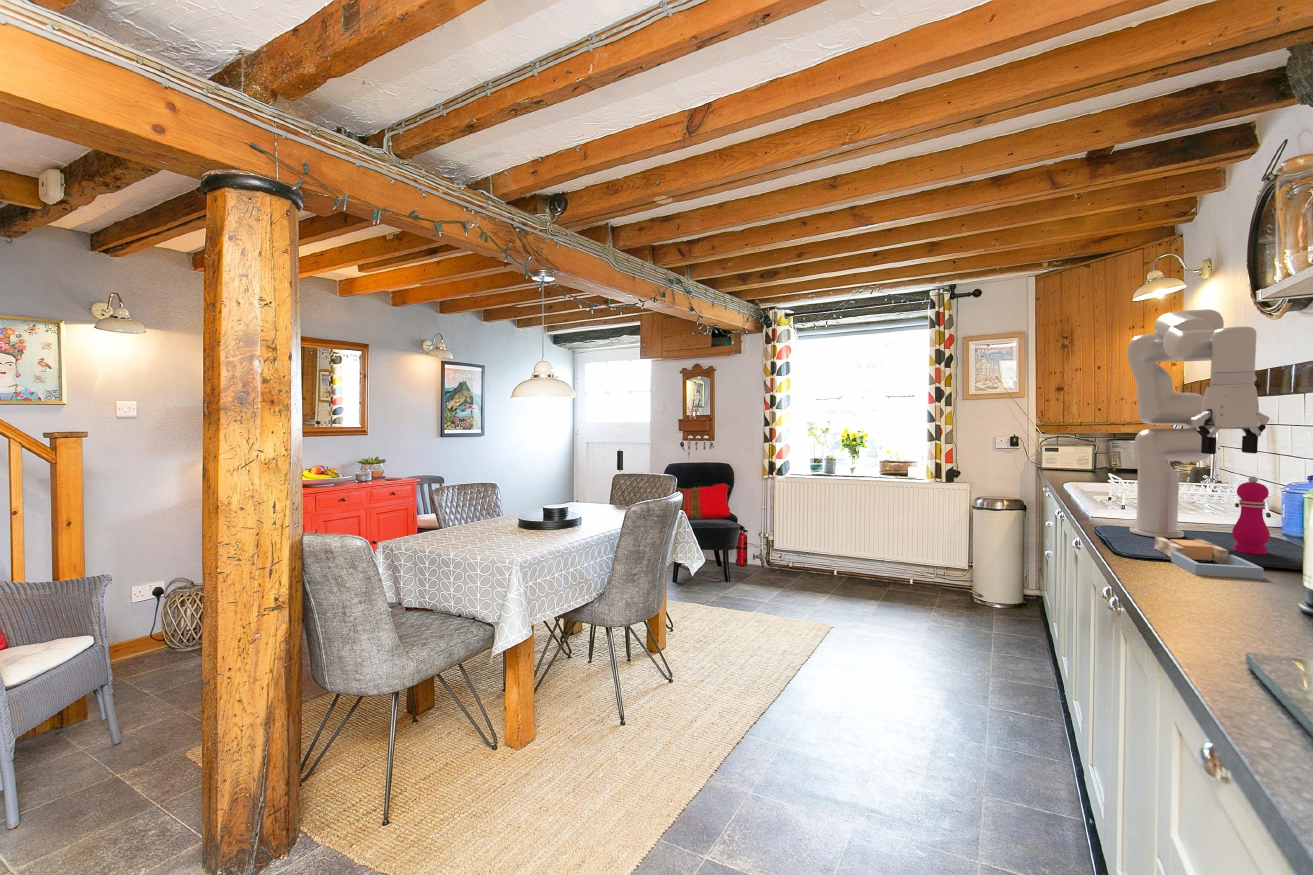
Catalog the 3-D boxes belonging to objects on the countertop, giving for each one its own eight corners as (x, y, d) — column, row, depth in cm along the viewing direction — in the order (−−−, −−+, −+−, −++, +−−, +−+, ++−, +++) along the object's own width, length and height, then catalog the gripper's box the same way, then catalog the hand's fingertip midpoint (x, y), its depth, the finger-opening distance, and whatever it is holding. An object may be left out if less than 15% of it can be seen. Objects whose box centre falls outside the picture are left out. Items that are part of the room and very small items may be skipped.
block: (1169, 554, 161) (1170, 539, 161) (1197, 555, 159) (1198, 540, 159) (1182, 560, 154) (1183, 545, 154) (1212, 562, 152) (1212, 546, 152)
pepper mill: (1252, 548, 164) (1256, 474, 163) (1277, 555, 157) (1281, 478, 156) (1223, 548, 165) (1226, 474, 164) (1246, 554, 158) (1250, 478, 157)
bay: (1171, 561, 153) (1171, 551, 153) (1233, 565, 149) (1234, 555, 149) (1194, 574, 142) (1195, 564, 141) (1263, 579, 137) (1263, 568, 137)
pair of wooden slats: (1154, 549, 165) (1154, 536, 165) (1201, 552, 161) (1201, 539, 161) (1176, 561, 153) (1177, 547, 152) (1227, 564, 149) (1228, 550, 149)
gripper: (1253, 380, 147) (1249, 451, 148) (1181, 381, 146) (1178, 452, 148) (1285, 379, 139) (1281, 454, 140) (1209, 380, 139) (1206, 455, 140)
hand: (1228, 453), depth 144 cm, fingers open, 9 cm apart
